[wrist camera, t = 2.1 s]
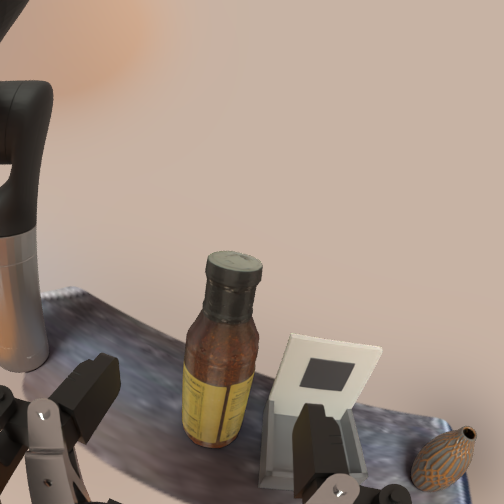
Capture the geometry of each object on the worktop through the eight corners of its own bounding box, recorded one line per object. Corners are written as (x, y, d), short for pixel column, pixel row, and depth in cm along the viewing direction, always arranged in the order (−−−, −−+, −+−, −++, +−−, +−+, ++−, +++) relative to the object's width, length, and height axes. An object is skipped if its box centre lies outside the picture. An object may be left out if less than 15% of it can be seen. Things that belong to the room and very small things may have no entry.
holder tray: (258, 487, 19) (297, 417, 16) (263, 411, 30) (290, 332, 27) (354, 489, 19) (418, 420, 16) (340, 419, 30) (380, 346, 27)
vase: (449, 467, 20) (490, 422, 18) (439, 506, 15) (490, 461, 12) (410, 452, 24) (448, 405, 22) (395, 489, 19) (442, 444, 16)
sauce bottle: (231, 408, 30) (270, 250, 24) (244, 449, 24) (300, 280, 19) (176, 408, 28) (194, 240, 22) (181, 451, 22) (201, 271, 17)
